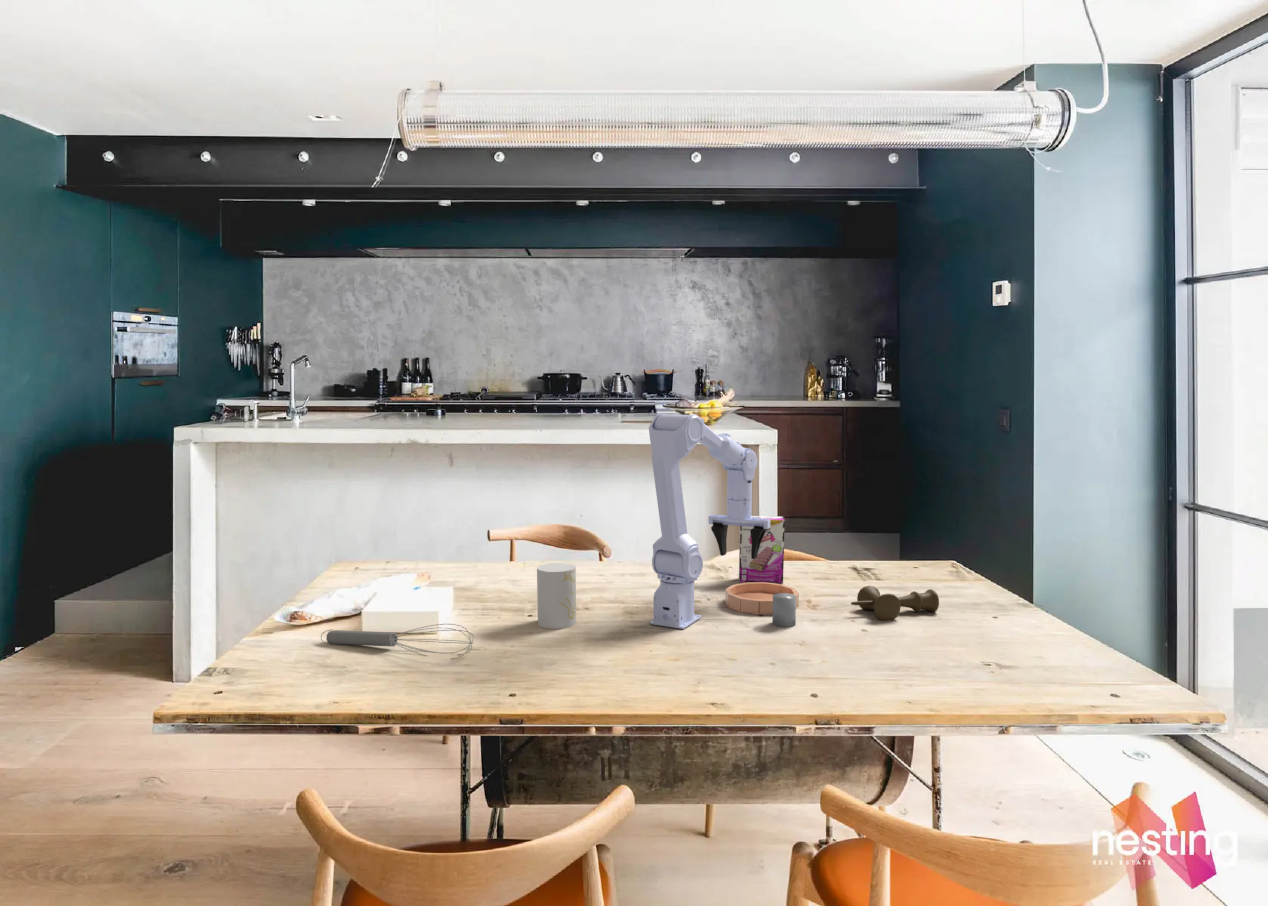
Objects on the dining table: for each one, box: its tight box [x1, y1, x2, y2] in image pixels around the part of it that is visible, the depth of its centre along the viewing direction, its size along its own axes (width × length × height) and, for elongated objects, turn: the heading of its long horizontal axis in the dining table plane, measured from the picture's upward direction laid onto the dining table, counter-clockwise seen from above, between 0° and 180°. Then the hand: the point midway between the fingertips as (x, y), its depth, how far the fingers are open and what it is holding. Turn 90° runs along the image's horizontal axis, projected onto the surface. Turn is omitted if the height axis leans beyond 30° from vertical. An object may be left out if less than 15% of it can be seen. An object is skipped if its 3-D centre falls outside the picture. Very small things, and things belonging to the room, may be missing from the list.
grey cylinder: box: [771, 593, 797, 628], centre depth 174 cm, size 5×5×6 cm
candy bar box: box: [738, 515, 786, 584], centre depth 209 cm, size 11×5×16 cm, turn 84°
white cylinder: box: [536, 562, 577, 630], centre depth 175 cm, size 8×8×12 cm
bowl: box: [724, 582, 800, 615], centre depth 189 cm, size 16×16×3 cm
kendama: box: [850, 585, 940, 622], centre depth 181 cm, size 6×10×20 cm
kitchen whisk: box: [320, 623, 475, 660], centre depth 159 cm, size 6×34×6 cm, turn 72°
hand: (738, 556), depth 194 cm, fingers open, 7 cm apart
